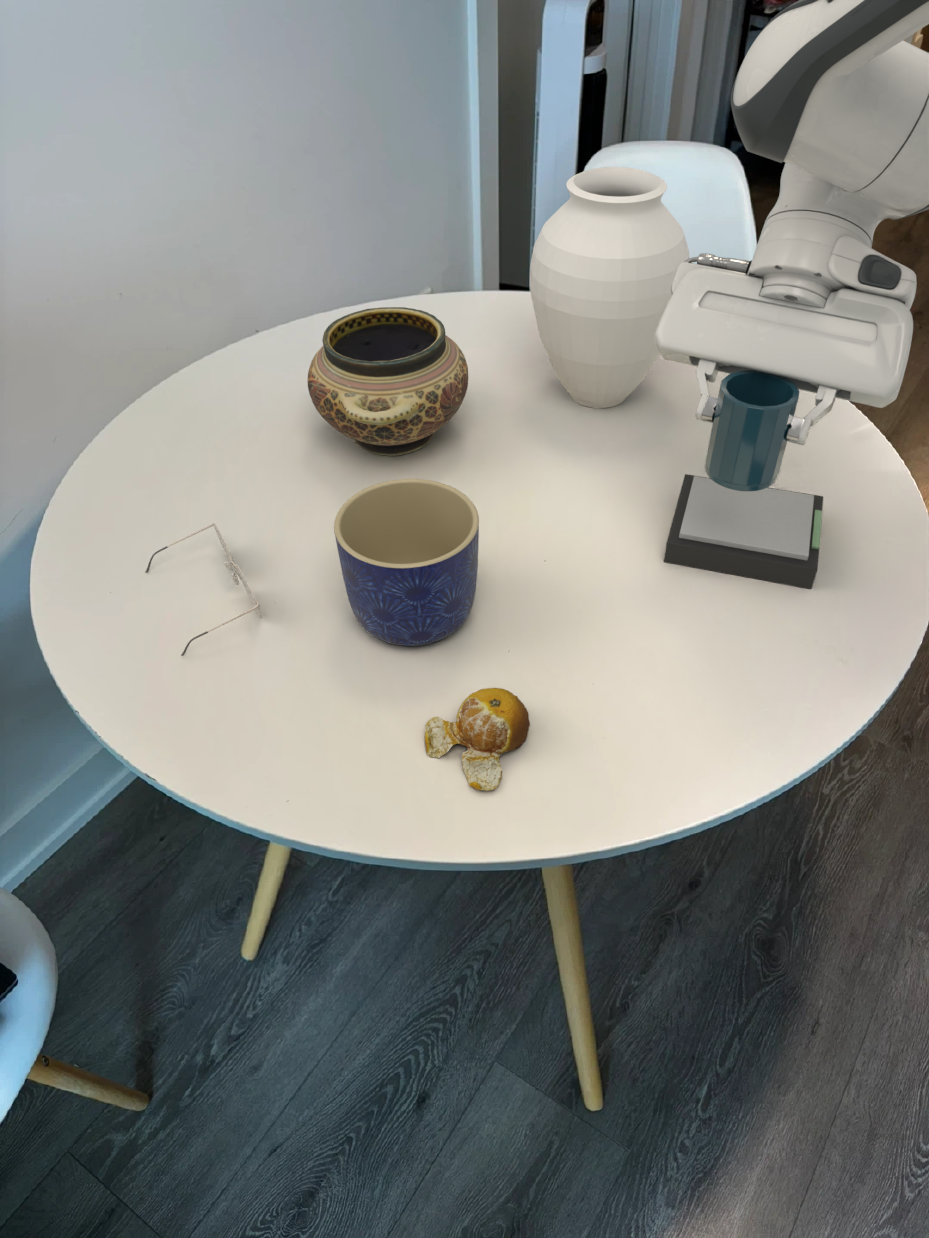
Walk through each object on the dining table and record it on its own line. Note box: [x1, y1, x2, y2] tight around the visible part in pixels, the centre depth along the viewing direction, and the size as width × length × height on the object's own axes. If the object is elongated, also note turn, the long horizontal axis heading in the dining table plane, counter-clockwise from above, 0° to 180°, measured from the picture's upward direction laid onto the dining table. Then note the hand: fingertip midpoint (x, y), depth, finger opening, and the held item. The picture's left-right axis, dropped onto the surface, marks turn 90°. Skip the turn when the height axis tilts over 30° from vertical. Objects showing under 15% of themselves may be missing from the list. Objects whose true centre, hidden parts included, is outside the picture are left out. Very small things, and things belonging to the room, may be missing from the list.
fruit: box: [424, 687, 531, 792], centre depth 74 cm, size 8×8×4 cm
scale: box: [663, 473, 824, 590], centre depth 92 cm, size 14×12×3 cm
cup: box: [704, 370, 800, 491], centre depth 78 cm, size 6×6×8 cm
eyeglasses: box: [145, 522, 262, 657], centre depth 87 cm, size 14×8×4 cm, turn 28°
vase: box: [529, 166, 690, 409], centre depth 106 cm, size 18×18×25 cm
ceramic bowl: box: [307, 306, 469, 457], centre depth 104 cm, size 24×18×15 cm
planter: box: [333, 478, 480, 647], centre depth 82 cm, size 12×12×11 cm
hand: (749, 430), depth 77 cm, fingers closed on cup, 6 cm apart
